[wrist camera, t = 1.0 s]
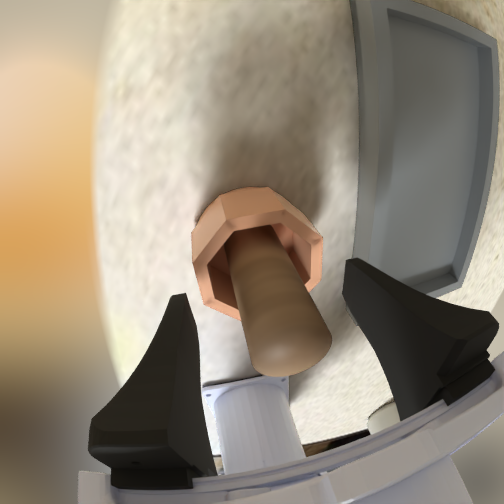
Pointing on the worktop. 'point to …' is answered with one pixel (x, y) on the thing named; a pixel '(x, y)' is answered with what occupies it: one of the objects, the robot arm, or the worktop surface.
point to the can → (383, 418)
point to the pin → (274, 305)
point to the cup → (242, 217)
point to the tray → (422, 141)
